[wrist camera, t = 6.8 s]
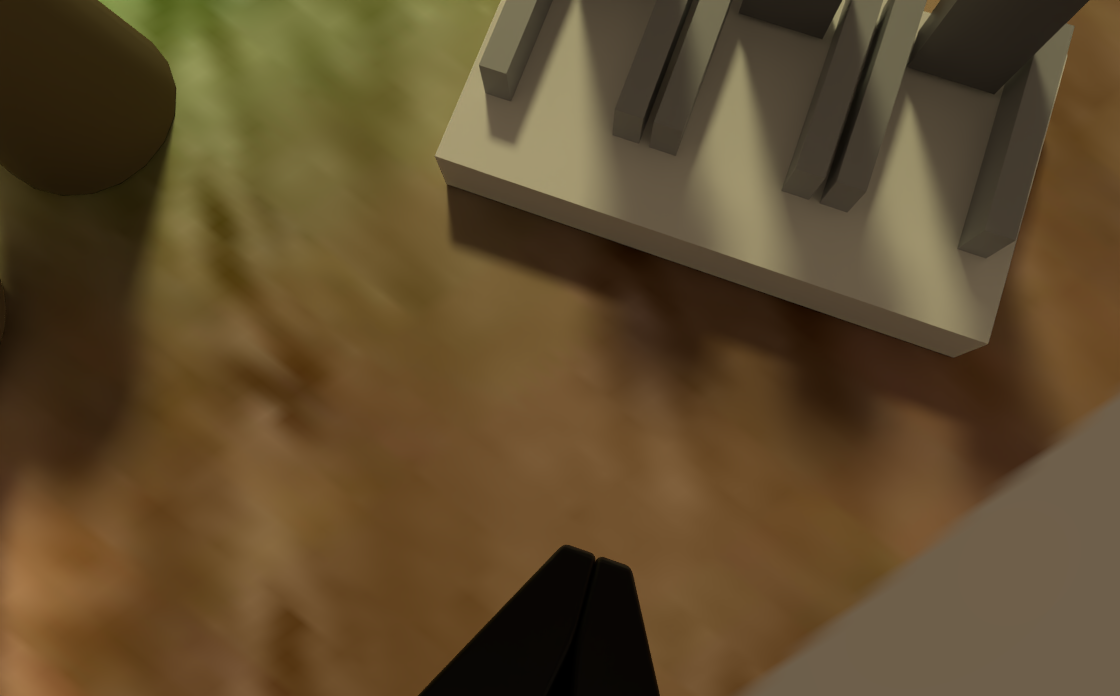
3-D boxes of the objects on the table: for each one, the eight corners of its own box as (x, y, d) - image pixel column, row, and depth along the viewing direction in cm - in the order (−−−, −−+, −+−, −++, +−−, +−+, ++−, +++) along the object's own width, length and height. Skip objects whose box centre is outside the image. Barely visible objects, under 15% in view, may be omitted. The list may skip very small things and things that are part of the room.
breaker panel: (953, 357, 23) (1018, 331, 20) (446, 183, 25) (424, 131, 21) (1028, 90, 25) (1101, 23, 21) (547, -59, 26) (542, -144, 23)
